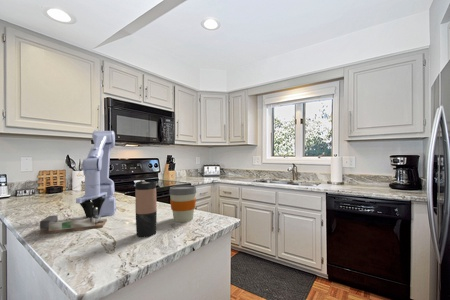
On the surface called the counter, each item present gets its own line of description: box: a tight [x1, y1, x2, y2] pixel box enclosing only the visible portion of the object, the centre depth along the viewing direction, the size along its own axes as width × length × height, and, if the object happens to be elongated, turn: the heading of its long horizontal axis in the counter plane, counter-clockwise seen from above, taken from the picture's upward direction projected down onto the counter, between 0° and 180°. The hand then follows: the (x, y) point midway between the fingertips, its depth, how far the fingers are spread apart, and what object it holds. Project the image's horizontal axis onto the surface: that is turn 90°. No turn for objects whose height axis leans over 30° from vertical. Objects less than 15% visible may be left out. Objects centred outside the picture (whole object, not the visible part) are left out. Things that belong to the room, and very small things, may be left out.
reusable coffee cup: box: [168, 184, 197, 223], centre depth 101 cm, size 13×13×15 cm
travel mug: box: [134, 180, 158, 238], centre depth 83 cm, size 8×8×20 cm
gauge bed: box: [39, 214, 108, 235], centre depth 92 cm, size 22×9×5 cm, turn 109°
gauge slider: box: [87, 207, 102, 223], centre depth 93 cm, size 4×8×6 cm, turn 19°
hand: (92, 216), depth 94 cm, fingers open, 4 cm apart
